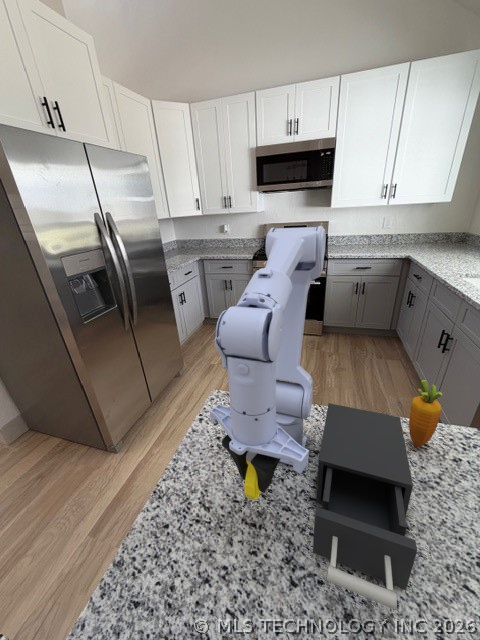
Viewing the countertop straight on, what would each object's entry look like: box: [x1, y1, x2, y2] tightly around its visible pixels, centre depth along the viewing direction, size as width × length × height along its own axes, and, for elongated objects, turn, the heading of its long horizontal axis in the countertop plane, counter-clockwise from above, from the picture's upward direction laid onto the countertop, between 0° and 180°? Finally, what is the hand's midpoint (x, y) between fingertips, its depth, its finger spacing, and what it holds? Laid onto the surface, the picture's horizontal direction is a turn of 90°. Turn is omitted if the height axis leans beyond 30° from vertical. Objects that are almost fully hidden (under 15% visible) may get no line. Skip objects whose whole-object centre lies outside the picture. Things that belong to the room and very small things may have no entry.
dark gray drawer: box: [311, 466, 418, 611], centre depth 38 cm, size 18×11×8 cm, turn 158°
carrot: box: [408, 379, 443, 449], centre depth 53 cm, size 5×5×15 cm
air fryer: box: [315, 402, 414, 518], centre depth 48 cm, size 15×13×10 cm
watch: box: [244, 451, 261, 501], centre depth 38 cm, size 6×3×6 cm, turn 159°
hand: (256, 480), depth 39 cm, fingers closed on watch, 2 cm apart
